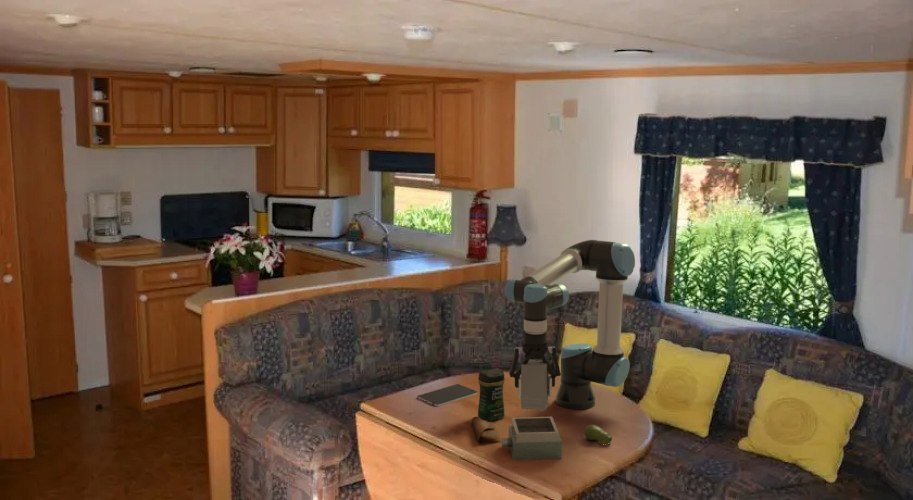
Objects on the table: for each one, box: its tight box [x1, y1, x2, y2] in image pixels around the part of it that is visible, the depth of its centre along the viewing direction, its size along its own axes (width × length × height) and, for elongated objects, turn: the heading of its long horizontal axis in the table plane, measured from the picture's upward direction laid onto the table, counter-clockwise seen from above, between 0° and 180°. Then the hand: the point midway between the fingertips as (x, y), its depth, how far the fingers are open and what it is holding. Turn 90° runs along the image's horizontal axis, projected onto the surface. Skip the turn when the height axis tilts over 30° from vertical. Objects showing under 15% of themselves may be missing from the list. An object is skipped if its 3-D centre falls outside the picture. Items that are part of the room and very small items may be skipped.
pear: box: [583, 424, 613, 446], centre depth 280 cm, size 6×5×10 cm
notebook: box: [416, 383, 478, 407], centre depth 325 cm, size 13×2×21 cm
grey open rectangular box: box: [501, 416, 563, 461], centre depth 272 cm, size 19×14×9 cm
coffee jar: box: [477, 367, 506, 422], centre depth 301 cm, size 10×8×19 cm
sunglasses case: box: [470, 416, 502, 446], centre depth 287 cm, size 18×7×7 cm
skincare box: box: [520, 359, 549, 412], centre depth 269 cm, size 8×7×16 cm
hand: (534, 396), depth 270 cm, fingers closed on skincare box, 9 cm apart
